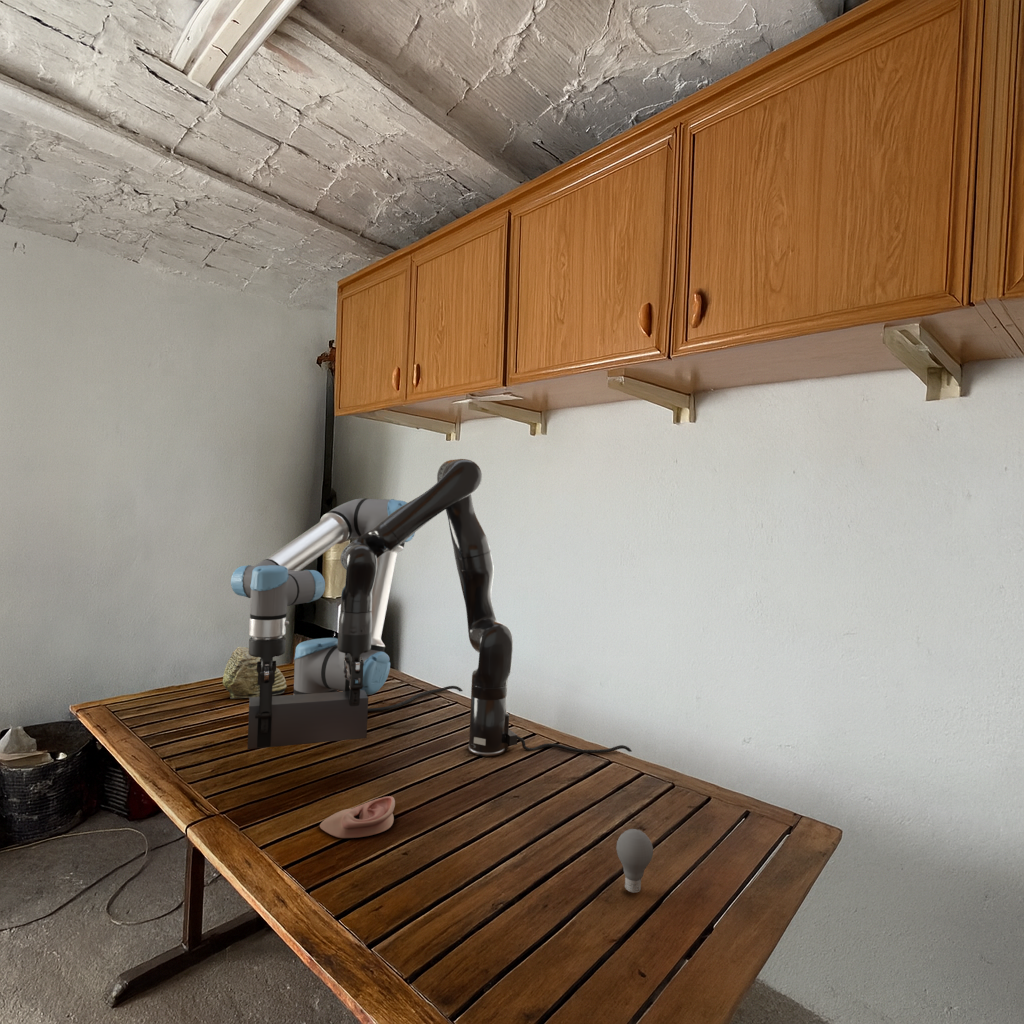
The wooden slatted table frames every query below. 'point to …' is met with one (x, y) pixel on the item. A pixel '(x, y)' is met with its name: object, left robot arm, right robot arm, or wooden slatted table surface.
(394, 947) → the wooden slatted table surface
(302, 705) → the box
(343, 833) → the anatomical model
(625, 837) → the light bulb
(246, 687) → the fossil
